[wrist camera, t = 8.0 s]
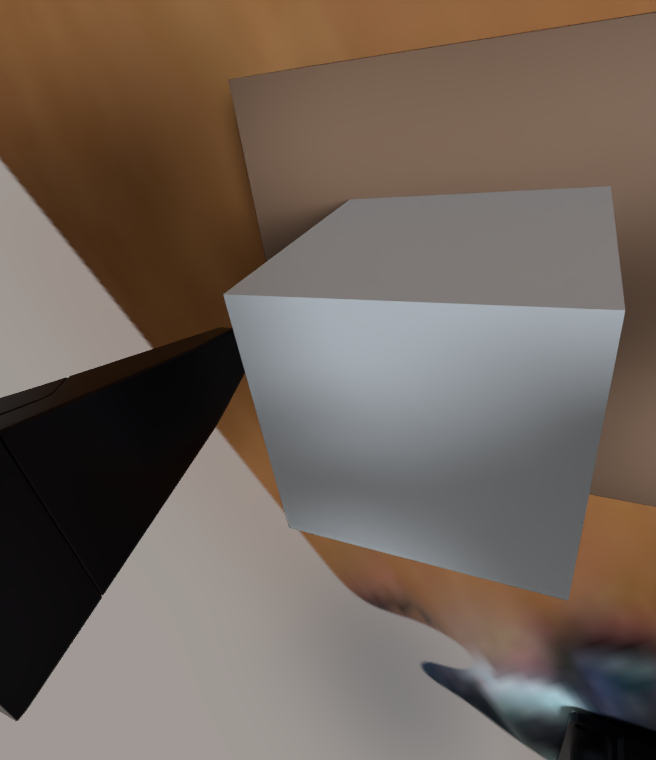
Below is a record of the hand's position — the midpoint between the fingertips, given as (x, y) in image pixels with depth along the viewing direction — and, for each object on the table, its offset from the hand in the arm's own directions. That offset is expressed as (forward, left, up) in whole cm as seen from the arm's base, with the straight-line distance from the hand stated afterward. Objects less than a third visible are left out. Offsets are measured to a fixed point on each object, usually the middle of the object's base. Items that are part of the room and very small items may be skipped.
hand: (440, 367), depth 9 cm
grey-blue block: (0, 0, -2) cm, 2 cm away
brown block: (0, 0, -6) cm, 6 cm away
